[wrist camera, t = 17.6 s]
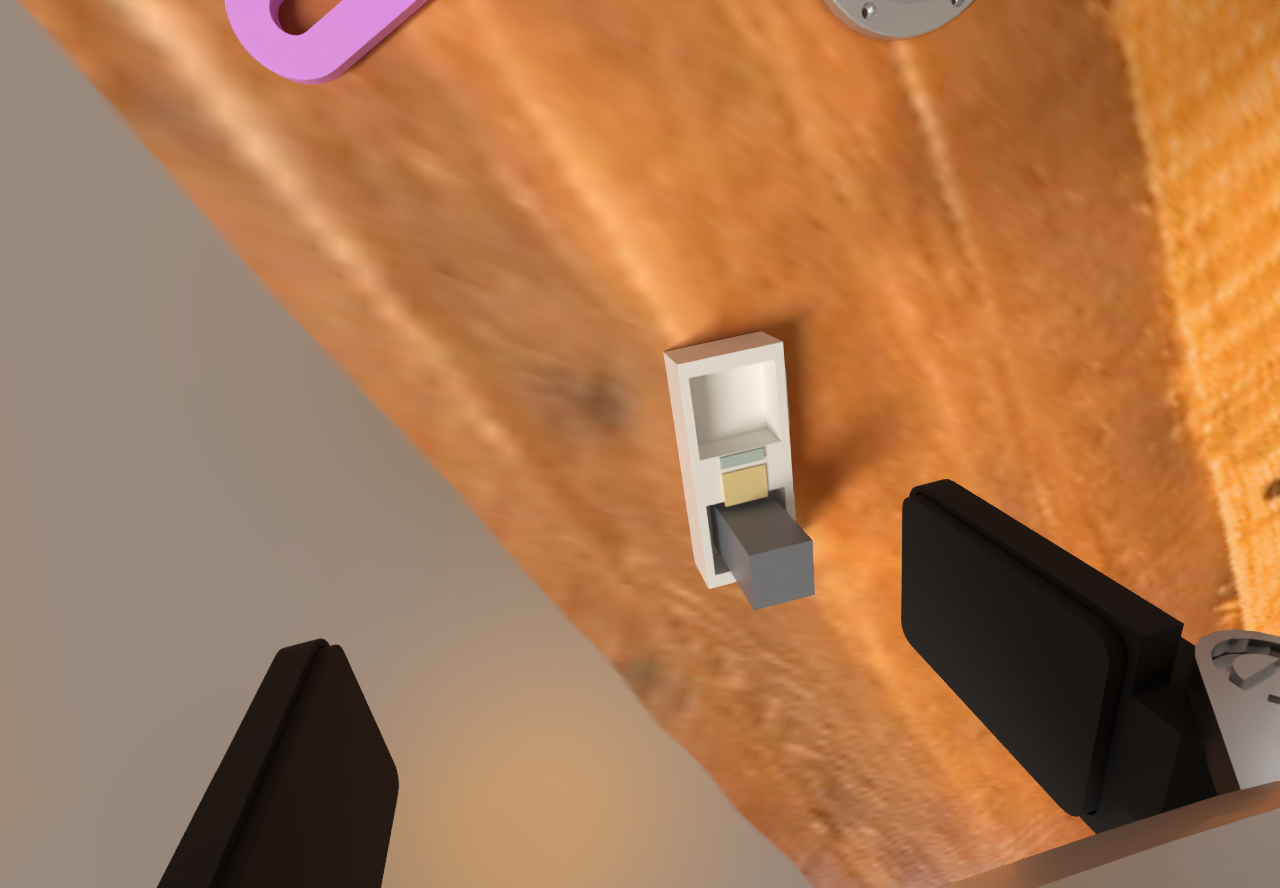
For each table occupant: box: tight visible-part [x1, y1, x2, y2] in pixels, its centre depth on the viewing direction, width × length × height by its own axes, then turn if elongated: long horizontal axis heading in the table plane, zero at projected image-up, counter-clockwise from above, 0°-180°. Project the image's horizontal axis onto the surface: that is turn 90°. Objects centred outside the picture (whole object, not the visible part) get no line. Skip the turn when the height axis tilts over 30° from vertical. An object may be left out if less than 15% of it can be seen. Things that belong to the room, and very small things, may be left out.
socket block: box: [664, 331, 797, 589], centre depth 42 cm, size 7×17×4 cm, turn 9°
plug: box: [709, 492, 815, 610], centre depth 41 cm, size 4×4×8 cm
